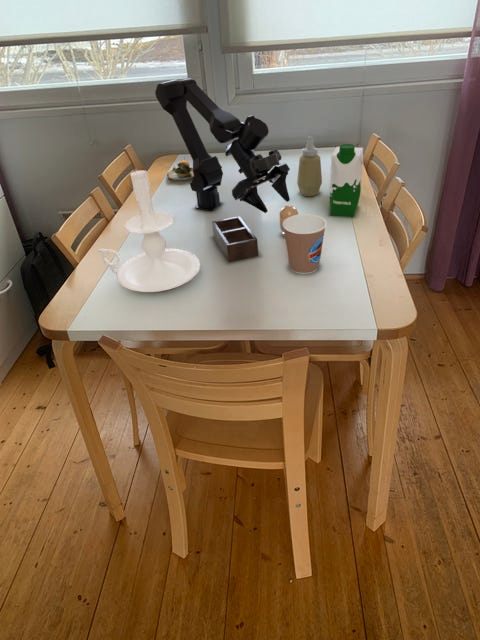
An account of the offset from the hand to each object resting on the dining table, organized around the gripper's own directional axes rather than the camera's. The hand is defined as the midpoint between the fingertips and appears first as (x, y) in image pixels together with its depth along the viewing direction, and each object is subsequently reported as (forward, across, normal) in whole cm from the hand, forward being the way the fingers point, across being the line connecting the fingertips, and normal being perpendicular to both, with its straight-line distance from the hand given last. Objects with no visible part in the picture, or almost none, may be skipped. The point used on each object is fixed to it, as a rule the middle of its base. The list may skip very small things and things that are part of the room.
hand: (277, 206), depth 131 cm
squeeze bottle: (-2, +27, +13) cm, 30 cm away
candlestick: (0, -39, +11) cm, 41 cm away
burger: (-35, +12, +47) cm, 60 cm away
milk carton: (+10, +22, 0) cm, 24 cm away
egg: (+8, 0, +2) cm, 8 cm away
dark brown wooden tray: (+3, -14, +8) cm, 16 cm away
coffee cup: (+18, -11, -8) cm, 23 cm away
